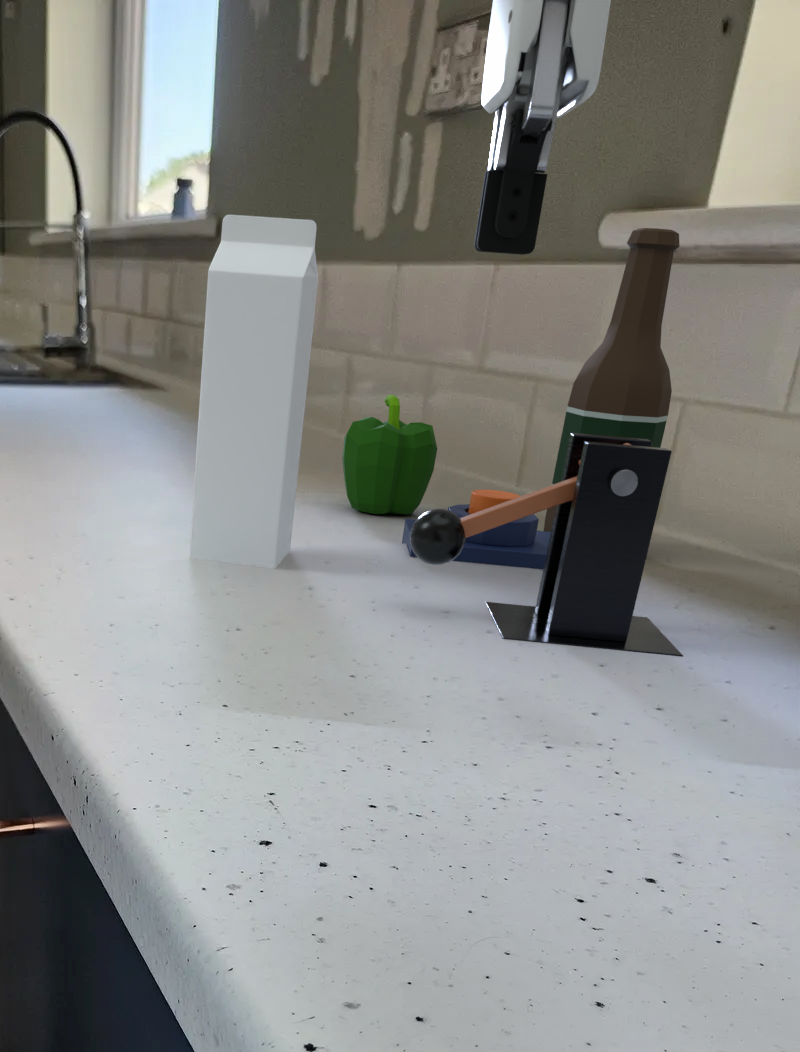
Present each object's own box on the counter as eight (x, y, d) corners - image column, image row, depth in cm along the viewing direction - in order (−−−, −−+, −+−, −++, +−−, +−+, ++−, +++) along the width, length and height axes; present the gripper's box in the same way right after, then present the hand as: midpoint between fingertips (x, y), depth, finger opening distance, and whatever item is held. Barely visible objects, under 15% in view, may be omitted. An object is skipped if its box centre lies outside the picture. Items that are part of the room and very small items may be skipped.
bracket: (498, 657, 64) (539, 442, 59) (482, 620, 71) (517, 425, 66) (678, 675, 63) (735, 459, 58) (643, 635, 70) (691, 440, 65)
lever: (421, 578, 65) (404, 526, 64) (417, 566, 68) (401, 515, 67) (651, 497, 62) (637, 441, 61) (637, 488, 65) (624, 434, 63)
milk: (208, 557, 82) (232, 217, 73) (290, 567, 81) (325, 223, 71) (186, 575, 76) (210, 210, 67) (274, 586, 75) (310, 216, 66)
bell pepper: (420, 525, 98) (438, 405, 94) (328, 513, 100) (342, 395, 96) (432, 510, 106) (450, 398, 101) (346, 499, 108) (360, 389, 104)
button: (513, 515, 85) (517, 492, 85) (520, 524, 82) (524, 500, 81) (465, 511, 86) (469, 488, 85) (470, 520, 82) (474, 496, 82)
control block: (553, 560, 89) (563, 509, 87) (575, 588, 81) (587, 532, 79) (401, 546, 90) (408, 495, 88) (407, 572, 82) (416, 516, 80)
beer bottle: (655, 555, 94) (733, 234, 84) (593, 561, 90) (667, 225, 80) (582, 535, 100) (646, 233, 89) (521, 540, 96) (581, 224, 86)
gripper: (689, -207, 50) (599, 254, 57) (608, -102, 63) (544, 260, 71) (518, -215, 50) (451, 243, 58) (474, -109, 64) (424, 251, 71)
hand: (503, 251), depth 64 cm, fingers closed
